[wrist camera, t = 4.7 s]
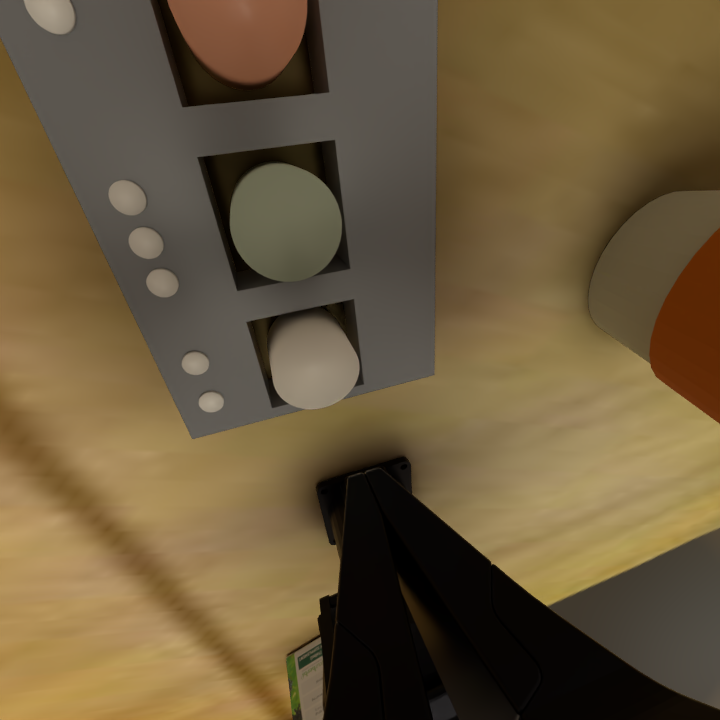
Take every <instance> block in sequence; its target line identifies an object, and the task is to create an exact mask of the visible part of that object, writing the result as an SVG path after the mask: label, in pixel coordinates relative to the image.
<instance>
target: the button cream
mask: <svg viewBox="0 0 720 720" xmlns="http://www.w3.org/2000/svg"><path fill="white" fill-rule="evenodd" d="M267 348H268V354H269V360H270V366H271V373H272V379H273V384H274V387H275V390H276V391H277V393H278V395H279V396H280V397H281V398H282V399H283V400H284V401H285V402H287V403H288V404H290V405H292V406H295V407H297V408H302V409H320V408H325V407H328V406H330V405H333V404H335V403H337V402H338V401H340V400H341V399H343V398H344V397H345V396H346V395H347V394H348V393H349V392H350V391H351V390H352V388H353V387H354V385H355V383H356V381H357V379H358V375H359V360H358V357H357V354H356V352H355V351H354V349H353V347H352V345H351V344H350V342H349V340H348V338H347V337H346V335H345V333H344V331H343V330H342V328H341V326H340V325H339V323H338V321H337V320H336V318H335V317H334V316H333V315H332V314H331V313H329V312H328V311H326V310H324V309H322V308H319V307H314V308H309V309H304V310H300V311H295V312H290V313H286V314H281V315H280V316H279V317H278V318H277V319H276V320H275V321H274V322H273V324H272V326H271V327H270V329H269V332H268V336H267Z"/></svg>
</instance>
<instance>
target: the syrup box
mask: <svg viewBox="0 0 720 720" xmlns="http://www.w3.org/2000/svg"><path fill="white" fill-rule="evenodd" d="M286 663H287V672H288V681H289V690H290V698H291V708H292V716H293V720H323V715H324V711H323V656H322V645H321V637H319V638H318V639H316V640H314V641H313V642H311V643H309V644H308V645H306V646H304V647H303V648H301V649H299V650H298V651H296V652H294V653H292V654H290V655H288V657H287V658H286Z"/></svg>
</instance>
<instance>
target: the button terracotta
mask: <svg viewBox="0 0 720 720" xmlns="http://www.w3.org/2000/svg"><path fill="white" fill-rule="evenodd" d="M167 1H168V4H169V7H170V10H171V12H172V14H173V16H174V19H175V21H176V23H177V25H178V27H179V29H180V31H181V33H182V35H183V37H184V40H185V42H186V44H187V46H188V47H189V49H190V51H191V53H192V55H193V56H194V57H195V59H196V60H197V62H198V63H199V64H200V65H201V66H202V68H203V69H204V70H205V71H206V72H207V73H208V74H209V75H211V76H212V77H213V78H214V79H216V80H217V81H219V82H220V83H222V84H224V85H226V86H228V87H231V88H234V89H238V90H244V91H249V90H257V89H260V88H263V87H265V86H267V85H269V84H271V83H272V82H273V81H274V80H276V79H277V77H278V76H279V75H280V74H281V73H282V71H283V70H284V68H285V67H286V65H287V64H288V63H289V61H290V60H291V58H292V57H293V55H294V54H295V52H296V51H297V49H298V47H299V45H300V42H301V39H302V37H303V34H304V29H305V25H306V18H307V0H167Z"/></svg>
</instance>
